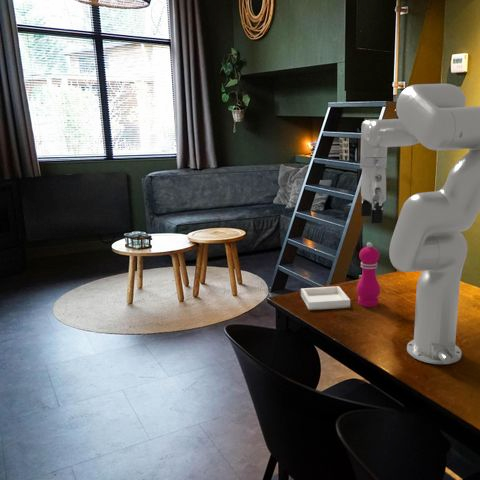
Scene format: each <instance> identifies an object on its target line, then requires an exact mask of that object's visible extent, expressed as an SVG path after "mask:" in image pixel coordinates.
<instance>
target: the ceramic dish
mask: <svg viewBox="0 0 480 480" xmlns="http://www.w3.org/2000/svg"><path fill="white" fill-rule="evenodd" d="M300 296H301V299H302V300H303V302H304V303H305V305H306V306H305V307H307V309H308V311H316V310H319V311H320V310H329V309H330V310H334V309H345V308H346V309H348V308H349V309H350V308H351V299H350V298H349V297H348V295H347V294H346V293H345V291H343V290H342V288H341V287H340V286H339V285H337V286H322V287H321V286H320V287H306V288H300Z"/></svg>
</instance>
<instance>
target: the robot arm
mask: <svg viewBox="0 0 480 480" xmlns="http://www.w3.org/2000/svg"><path fill="white" fill-rule="evenodd" d="M398 95H399V96H398V97H397V100H396V104H395V105H396V106H395V110H396V115H397V118H390V119H387V118H386V119H367V120H364V121H362V123H361V127H360V128H361V131H360V160H359V168H360V169H361V180H360V195H361V196H360V197H361V201H360V204H361V206H360V217H370V223H371V224H382V223H383V212H384V203H385V202H386V200H387V174H386V169H387V163H388V161H387V160H388V148H394V147H395V148H396V147H411V146H414V145H416V144H417V145H418V144H421V145H422V146H423V147H425V148H426V149H428V150H430V151H431V150H432V151H451V150H452V151H454V150H468V149H469V151H468V152H467V153H466V154H464V155H463V156H462V157H461V158H460V159H459V160H458V161H456V163H455V164H454V166H452V168H451V170H449V173H448V175H447V177H446V178H447V179H446V181H445V183H444V185H443V186H442V188H441V189H440V190H437V191H427V192H426V191H425V192H418V193H414V194H413V195H411V196H410V197H408V199H407V200H405V202H404V203H403V205H402V207H401V210H400V212H399V215H398V219H397V222H396V224H395V228H394V231H393V234H392V237H391V240H390V244H389V248H388V249H389V250H388V251H389V253H388V255H389V260H390V263H391V264H392V265H391V266H393V267H394V269H396V270H397V271H399V272H403V273H415V272H421V273H420V275H419V278H418V280H417V283H416V294H415V309H414V310H415V311H414V331H413V339H412V340H410V341H409V342H408V343H407V345H406V351H407V353H408V355H410V356H411V357H412V358H413V359H416V360H418V361H420V362H424V363H427V364H432V365H450V364H451V365H452V364H454V363H457V362H459V361H460V360H461V359H462V350H461V348H460V347H459V346H457V345H456V339H457V338H456V336H457V335H456V334H457V325H458V324H457V323H458V310H459V309H458V308H459V299H460V297H459V296H460V287H461V286H460V284H461V279H462V272H463V268H464V264H465V261H466V258H467V254H468V242H467V240H466V237H465V236H464V235H463V234H462V232H465V231H467V230H469V229H470V228H471V227H472V225H473V224H474V223H475V220H476V219H477V216H478V214H479V212H480V106H479V105H478V106H466V103H467V100H466V99H467V98H466V95H465V92H464V91H463V90H462V89H461V88H460V87H458V86H457V85H454V84H451V83H422V84H421V83H420V84H418V83H417V84H412V85H409V86H406V87H405V88H404V89H403V90H402V91H401V92H400V94H398Z"/></svg>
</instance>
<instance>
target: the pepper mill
mask: <svg viewBox="0 0 480 480" xmlns="http://www.w3.org/2000/svg"><path fill="white" fill-rule="evenodd" d="M358 256H359V257H358V258H359V259H360V261H361V262H360V268H361V269H362V270H361V271H362V272H361V273H362V274H361V277H360V279H359V281H358V283H357V285H356V293H357V295H358V298H357V304H358V305H360V306H362V307H364V308H365V307H366V308H370V307H371V308H372V307H376V306H378V304H379V298H378V296H380V294H381V288H380V287H381V286H380V284H379V282H378V280H377V276H376V270H377V268H378V262H377V261H379V259H380V252H379V250H378V249H377V248H376V247H373V243H372V242H370V241H369V242H367V243H366V246H365V247H363V248H361V250H360V251H359V255H358Z"/></svg>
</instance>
